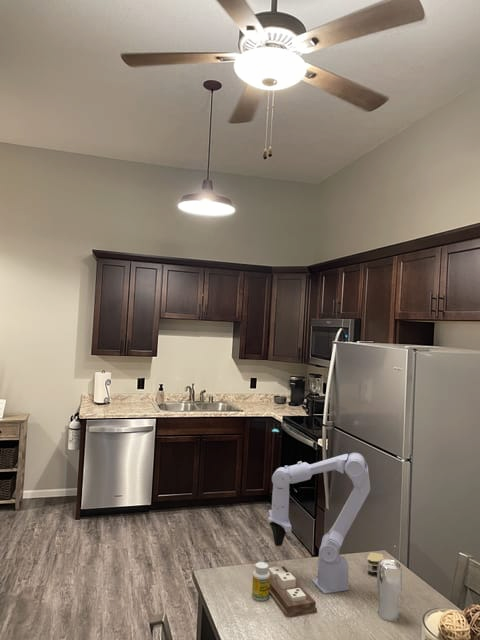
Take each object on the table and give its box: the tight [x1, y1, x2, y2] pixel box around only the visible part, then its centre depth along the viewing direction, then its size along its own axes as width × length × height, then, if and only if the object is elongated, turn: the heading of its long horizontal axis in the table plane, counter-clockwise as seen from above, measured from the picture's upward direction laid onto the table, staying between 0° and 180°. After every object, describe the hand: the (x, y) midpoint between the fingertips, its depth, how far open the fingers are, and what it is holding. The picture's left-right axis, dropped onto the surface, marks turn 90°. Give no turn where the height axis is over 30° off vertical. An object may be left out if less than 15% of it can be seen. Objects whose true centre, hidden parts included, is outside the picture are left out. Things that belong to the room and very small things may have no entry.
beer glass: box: [376, 558, 403, 622], centre depth 138 cm, size 7×7×15 cm
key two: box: [277, 571, 297, 590], centre depth 147 cm, size 4×4×3 cm
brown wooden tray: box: [269, 566, 318, 618], centre depth 147 cm, size 10×22×3 cm, turn 20°
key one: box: [268, 565, 286, 579], centre depth 153 cm, size 4×4×3 cm
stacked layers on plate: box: [366, 552, 385, 576], centre depth 164 cm, size 10×9×6 cm
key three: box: [286, 588, 306, 602], centre depth 140 cm, size 4×4×3 cm
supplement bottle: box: [251, 561, 270, 601], centre depth 145 cm, size 5×5×10 cm
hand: (278, 545), depth 158 cm, fingers closed
